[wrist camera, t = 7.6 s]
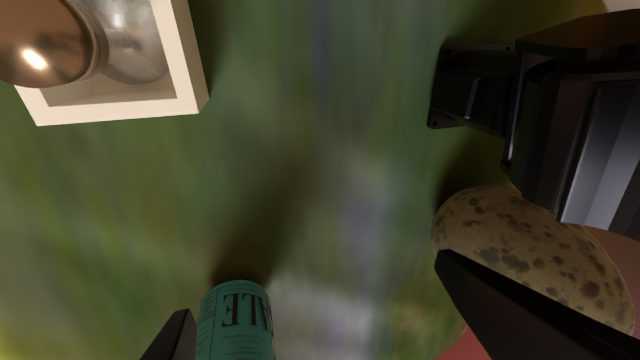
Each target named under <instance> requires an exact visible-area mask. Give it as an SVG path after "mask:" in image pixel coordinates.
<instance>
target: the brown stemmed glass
mask: <svg viewBox="0 0 640 360" xmlns="http://www.w3.org/2000/svg"><path fill="white" fill-rule="evenodd" d="M168 70H169V66H168V63H167V59H166V56H165V52H164V49H163V45H162V42H161V38H160V34H159V31H158V27H157V24H156V20H155V17H154V13H153V10H152V7H151V6H150V5H149V4H148V3H146V2H145V1H144V0H0V80H2V81H4V82H7V83H10V84H13V85H16V86H21V87H26V88H49V87H54V86H59V85H64V84H69V83H74V82H78V81H83V80H87V79H91V78H93V77H95V76H97V75H98V74H99V73H100V72H101V73H102V74H104V75H105V76H107V77H109V78H111V79H113V80H115V81H118V82H121V83H125V84H132V85H141V84H147V83H151V82H153V81H156V80H158V79H160V78H161V77H163V76H164V75H165V74H166V73H167V71H168Z"/></svg>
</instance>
